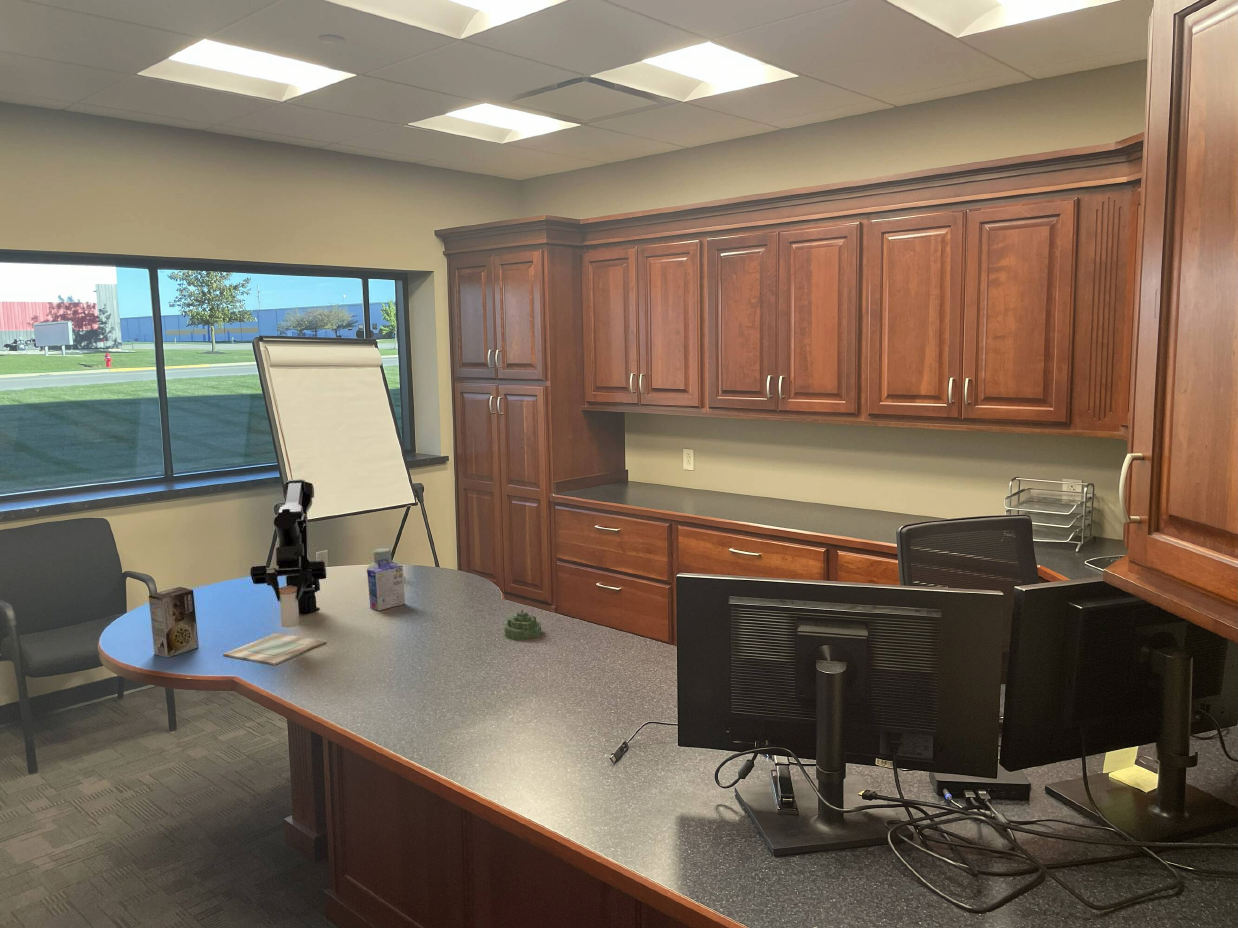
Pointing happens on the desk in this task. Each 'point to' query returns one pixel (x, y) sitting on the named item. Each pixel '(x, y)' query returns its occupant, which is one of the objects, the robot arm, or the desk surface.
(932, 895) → the desk surface
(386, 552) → the air freshener
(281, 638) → the board
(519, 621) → the decorative artifact
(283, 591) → the tube
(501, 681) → the desk surface
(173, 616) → the brown food box
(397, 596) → the ink cartridge box
